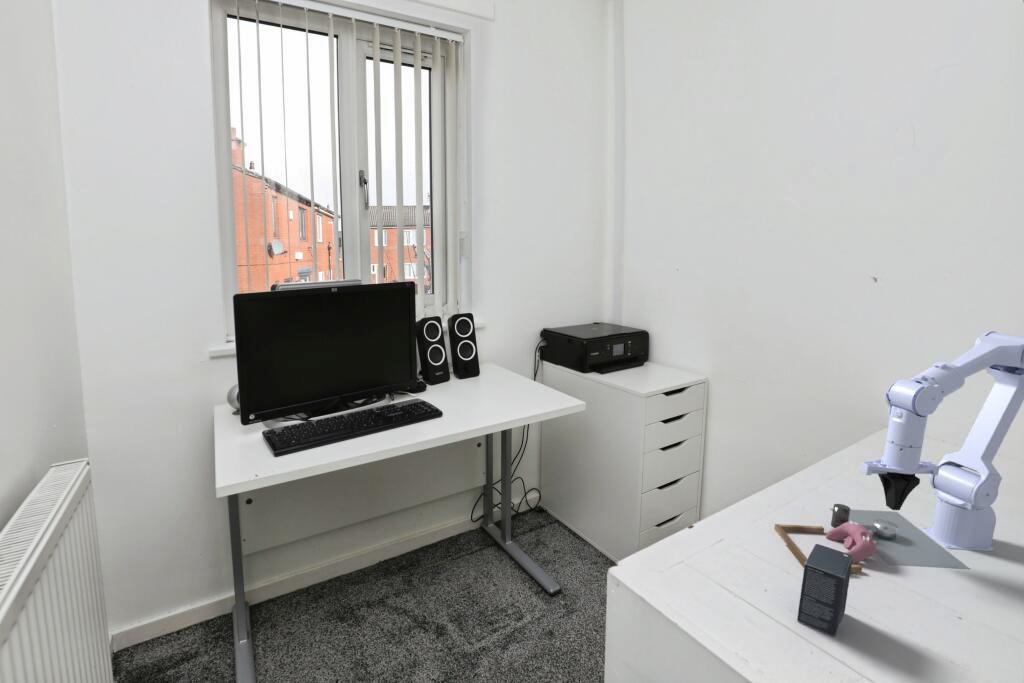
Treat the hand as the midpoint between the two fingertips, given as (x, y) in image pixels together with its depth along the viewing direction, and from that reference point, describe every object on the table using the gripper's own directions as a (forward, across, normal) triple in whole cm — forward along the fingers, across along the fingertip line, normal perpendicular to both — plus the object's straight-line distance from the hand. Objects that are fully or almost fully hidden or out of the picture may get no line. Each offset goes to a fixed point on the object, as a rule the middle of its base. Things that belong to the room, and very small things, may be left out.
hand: (892, 507), depth 109 cm
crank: (+9, +1, -6) cm, 11 cm away
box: (+10, +25, +19) cm, 33 cm away
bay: (+9, +14, 0) cm, 17 cm away
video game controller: (+10, +8, +1) cm, 13 cm away
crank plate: (+9, -5, -5) cm, 12 cm away
